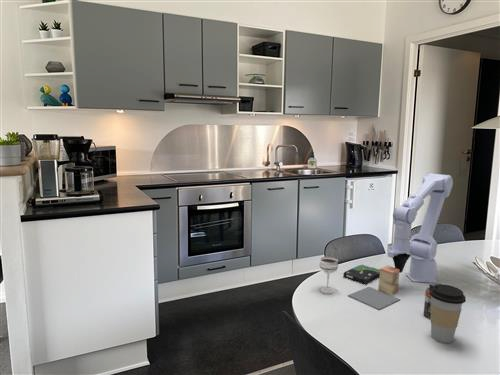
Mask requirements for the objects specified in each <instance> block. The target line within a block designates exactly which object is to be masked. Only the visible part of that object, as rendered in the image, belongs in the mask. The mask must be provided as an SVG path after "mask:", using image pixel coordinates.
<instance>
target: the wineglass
mask: <svg viewBox="0 0 500 375" xmlns="http://www.w3.org/2000/svg"><path fill="white" fill-rule="evenodd" d="M319 260H320V262H319V268H320V269H321V271H322V272H323V273H325V274H326V287H320V291H321V292H323V293H324V294H325V293H326V294H332V293H334V291H335V290H334V289H333V288H331V287H329V283H330V282H329V280H330V276H331V275H332V274H333V273H335V272H336V271H337V270H338V267H339V263H338V262H339V260H338V259H337V258H336V257H333V256H322V257H320V258H319Z"/></svg>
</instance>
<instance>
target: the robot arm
mask: <svg viewBox="0 0 500 375" xmlns="http://www.w3.org/2000/svg"><path fill="white" fill-rule="evenodd" d="M453 181H454V180H453V177H452V176H451V175H450V174H440V173H431V172H426V173H425V174H424V175H423V177H422V184H421V186H420V187H419V188H418V189H417V191H416V193H412V194H410V195H409V196H408V198H407V199H406V200H405V201H404V202H403V203H402V204H401V205H398V206H396V207H395V208H394V209H393V213H392V219H393V224H394V234H393V235H394V236H393V245H391V246H390V250H389V251H387V257H389V258H391V259H392V262H393V263H394V264H393V265H394V268H396V269H399V270H400V273H399V274H401V273H403V271H404V268H405V266H406V264H407V261H408V260H409V259H410V265H409V272H406V273H405V275H406V276H407V277H408V279H410V281H411V282H413V283H430V282H437V280H436V278H437V277H436V276H437V268H438V266H437V264H438V263H437V261H436V259H435V257H436V254H437V250H438V249H437V248H438V242H437V240H435V239H434V237H433V235H434V232H435V229H436V227H437V223H438V220H439V218H440V215H441V213H442V209H443V206H444V202H445V199H446V198H448V197H449V196H450V194H451V191H452V189H453V185H454V182H453ZM428 196H430V199H429V202H428V205H427V209H426V211H425V214H424V218H423V220H422V224H421V227H420V230H419V232H418V233H416V234H414V235H412V236H411V234H412V225H413V223H414V222H415V220H416V218H417V216H418V212H419V210H420V209H421V208H422V207H423V205H425V200H424V199H425V198H427V197H428Z"/></svg>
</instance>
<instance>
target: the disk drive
mask: <svg viewBox="0 0 500 375" xmlns="http://www.w3.org/2000/svg"><path fill="white" fill-rule="evenodd" d="M379 276H380V269H379V268H376V267H371V266H367V265H364V264H360V265H357V266H355V267H353V268H351V269H348V270H346V271H344V272H343V276H342V277H343V278H344V277H345V278H344V279H346V278H348V279H347V280H349V279H350V281H352V280H353V282H355V281H356V283H358V282H359V283H358V284H361V283H362V284H361V285H364V284H365V285H364V286H366V284H367V285H368V283H369V284H370V283H372V282H374V281H376V280H378V279H379ZM377 278H378V279H377ZM375 279H376V280H375ZM373 280H374V281H373Z"/></svg>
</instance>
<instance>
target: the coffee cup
mask: <svg viewBox="0 0 500 375" xmlns="http://www.w3.org/2000/svg"><path fill="white" fill-rule="evenodd" d="M429 294H430V295H431V319H430V326H431V327H430V328H431V329H430V336H431V338H432V339H434V340H435V341H437V342H440V343H443V344H444V343H445V344H449V343H453V342H454V338H455V335H456V330H457V327H458V325H459V320H460V316H461V314H462V305H463V304H464V303H465V302H466V296H465V295H464V291H463V290H462V289H460V288H458V287H455V286H453V285H449V284H443V283H441V284H438V285H434V286H433V288H432V289H430V292H429Z"/></svg>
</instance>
